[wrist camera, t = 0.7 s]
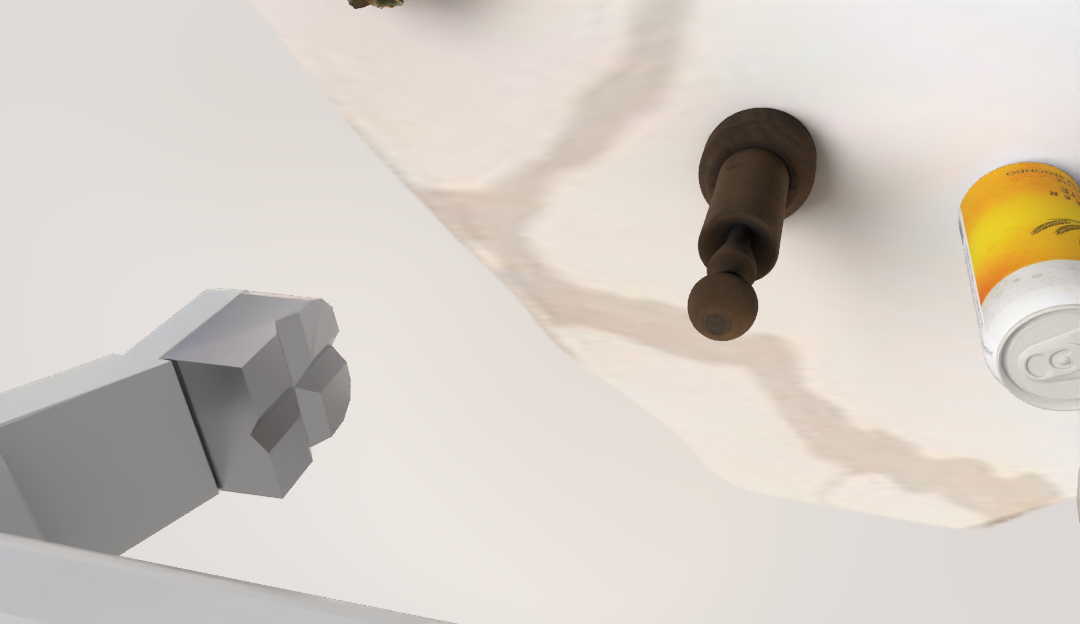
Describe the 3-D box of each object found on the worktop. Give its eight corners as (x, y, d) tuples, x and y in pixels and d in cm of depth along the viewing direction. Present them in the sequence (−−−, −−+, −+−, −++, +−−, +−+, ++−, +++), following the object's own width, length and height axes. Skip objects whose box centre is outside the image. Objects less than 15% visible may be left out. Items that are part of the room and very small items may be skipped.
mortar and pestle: (782, 228, 53) (752, 408, 39) (685, 184, 54) (620, 347, 39) (838, 134, 49) (827, 297, 35) (733, 88, 50) (679, 229, 35)
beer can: (1095, 233, 48) (1172, 397, 36) (978, 269, 51) (1012, 432, 39) (1061, 138, 46) (1130, 278, 34) (941, 182, 49) (965, 325, 37)
